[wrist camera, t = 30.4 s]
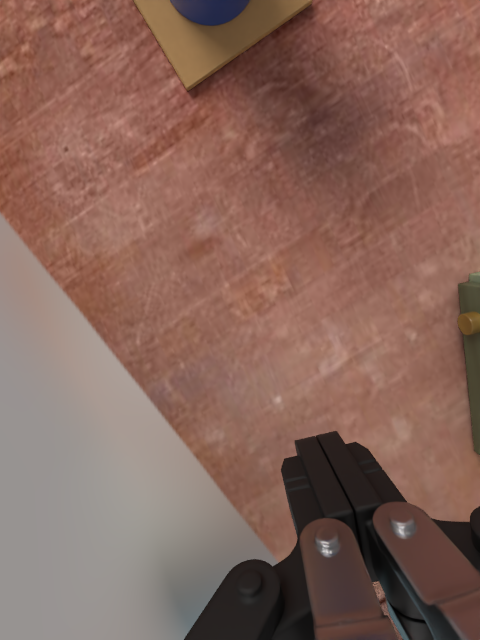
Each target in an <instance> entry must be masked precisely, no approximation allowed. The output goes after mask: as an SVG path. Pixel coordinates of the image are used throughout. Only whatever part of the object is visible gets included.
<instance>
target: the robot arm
mask: <svg viewBox="0 0 480 640" xmlns="http://www.w3.org/2000/svg"><path fill="white" fill-rule="evenodd" d="M295 447H296V451H297V456H294V457H290V458H285V459H284V461H283V465H282V468H281V472H282V476H283V481H284V485H285V490H286V494H287V499H288V503H289V508H290V511H291V515H292V519H293V523H294V526H295V530H296V534H297V538H298V539H297V543H296V546H295V548H294V550H293V551H292V552H291V554H290V555H289V556H288V557H287V558H285V559H284V560H282V561H281V562H279V563H278V564H276V565H275V566H273V567H272V566H271V565H270V564H269V563H267V562H265V561H262V560H256V559H253V560H247V561H244V562H241V563H240V564H238V565H236V566H235V567H234V568H233V569H232V570H231V571H230V572H229V573H228V574H227V576H226V577H225V579H224V580H223V582H222V583H221V585H220V586H219V588H218V589H217V591H216V592H215V594H214V595H213V597H212V598H211V600H210V601H209V603H208V604H207V606H206V607H205V609H204V610H203V612H202V613H201V615H200V616H199V618H198V619H197V621H196V622H195V624H194V625H193V627H192V628H191V630H190V631H189V633H188V634H187V636H186V637H185V639H184V640H398V637H397V635H396V632H395V630H394V627H393V625H392V623H391V621H390V619H389V617H388V616H387V615H384V613H383V611H382V608H381V606H380V603H379V600H378V598H377V595H376V592H375V589H374V587H373V584H372V582H376V581H379V582H380V584H381V586H382V588H383V591H384V593H385V598H386V604H387V609H388V612H389V614H390V616H391V618H392V620H393V622H394V624H395V625H396V627H397V629H398V631H399V633H400V635H401V636H402V638H403V640H480V507H478V508H476V509H475V510H473V512H472V513H471V516H470V522H451V521H440V520H435V519H432V518H430V517H429V516H428V514H426V513H425V512H424V511H423V510H422V509H420V508H419V507H417V506H415V505H412V504H410V503H407V501H406V500H405V499H404V497H403V496H402V495H401V493H400V492H399V491H398V489H397V488H396V486H395V485H394V484H393V482H392V481H391V480H390V478H389V477H388V476H387V474H386V473H385V472H384V470H382V467H381V466H380V465H379V463H378V462H376V459H375V458H374V457H373V455H372V454H371V452H370V451H369V450H368V449H367V448H365V447H364V446H362V445H360V444H359V443H357V442H353V443H349V444H345V443H344V441H343V440H342V438H341V437H340V435H339V434H338V432H337V431H333V432H329V433H325V434H320V435H316V437H315V436H312V437H308V438H304V439H299V440H295Z"/></svg>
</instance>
